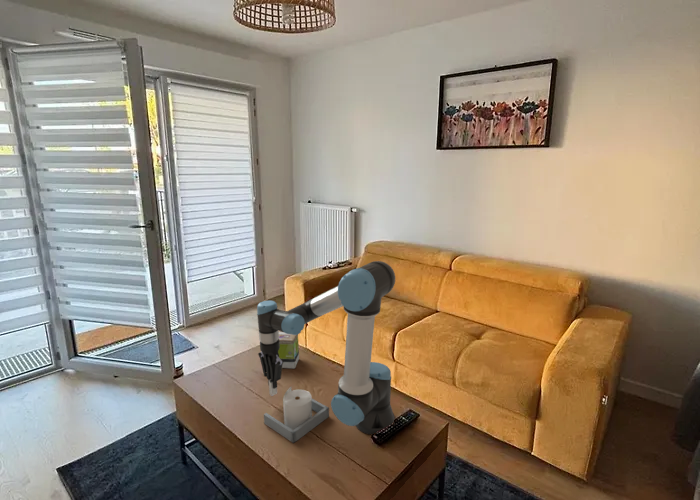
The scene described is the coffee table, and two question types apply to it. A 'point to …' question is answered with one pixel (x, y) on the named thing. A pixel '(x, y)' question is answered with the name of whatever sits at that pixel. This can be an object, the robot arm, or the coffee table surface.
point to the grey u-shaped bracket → (304, 427)
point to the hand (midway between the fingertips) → (273, 393)
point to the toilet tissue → (296, 407)
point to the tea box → (288, 349)
